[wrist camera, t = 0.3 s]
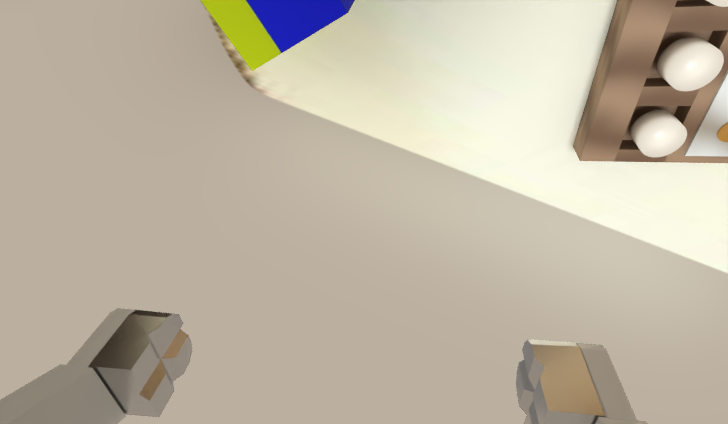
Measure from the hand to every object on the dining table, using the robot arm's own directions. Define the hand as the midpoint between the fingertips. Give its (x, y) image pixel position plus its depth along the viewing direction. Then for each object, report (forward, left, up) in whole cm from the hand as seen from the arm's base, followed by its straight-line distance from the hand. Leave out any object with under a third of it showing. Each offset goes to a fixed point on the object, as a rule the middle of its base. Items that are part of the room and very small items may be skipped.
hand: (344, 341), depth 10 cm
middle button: (+7, +25, -36) cm, 44 cm away
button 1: (+14, +25, -36) cm, 45 cm away
